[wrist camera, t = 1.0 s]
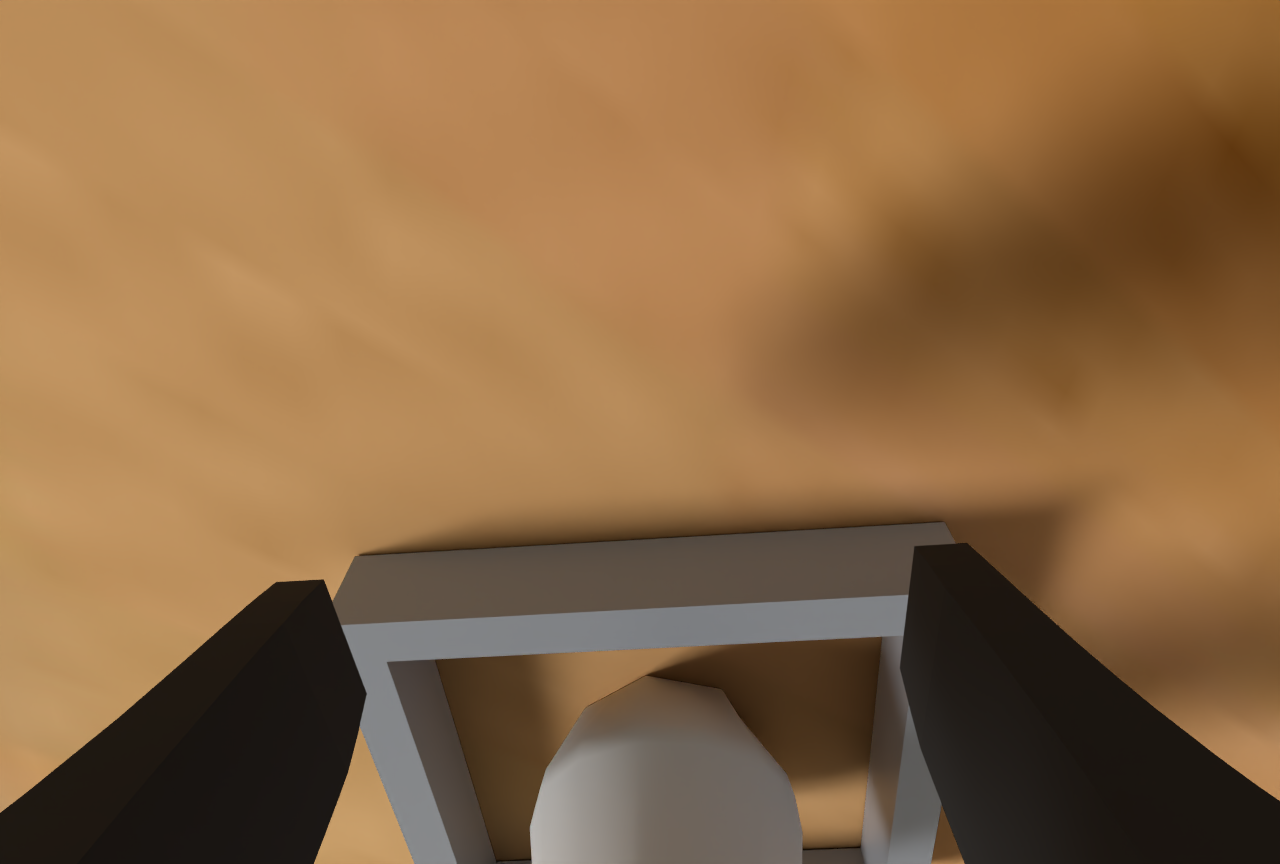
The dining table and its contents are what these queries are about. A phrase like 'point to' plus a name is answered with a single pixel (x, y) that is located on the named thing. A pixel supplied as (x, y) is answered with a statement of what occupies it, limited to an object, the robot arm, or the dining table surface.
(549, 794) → the salt shaker
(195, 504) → the dining table surface
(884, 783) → the grey square frame
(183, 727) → the robot arm
